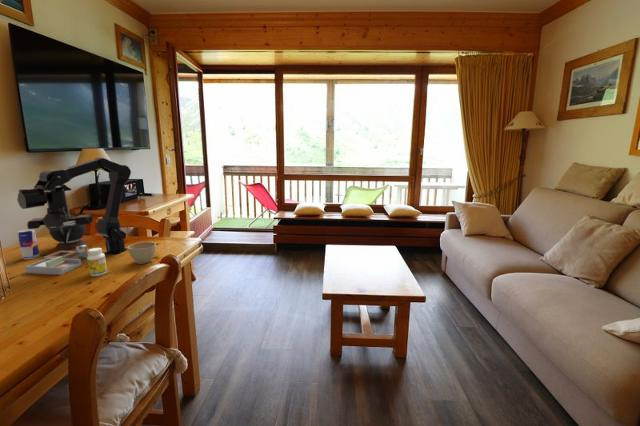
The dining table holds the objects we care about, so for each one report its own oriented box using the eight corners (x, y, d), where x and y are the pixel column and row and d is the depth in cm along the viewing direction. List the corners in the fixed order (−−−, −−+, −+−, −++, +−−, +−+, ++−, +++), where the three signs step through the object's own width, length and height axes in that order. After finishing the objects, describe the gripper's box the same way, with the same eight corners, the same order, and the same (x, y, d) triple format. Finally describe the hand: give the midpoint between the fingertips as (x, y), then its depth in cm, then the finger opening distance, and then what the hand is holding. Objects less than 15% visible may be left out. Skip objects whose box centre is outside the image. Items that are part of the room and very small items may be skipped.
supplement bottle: (110, 271, 117) (107, 247, 115) (97, 277, 112) (93, 252, 110) (100, 269, 119) (96, 246, 116) (86, 275, 114) (82, 250, 111)
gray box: (81, 265, 123) (80, 259, 122) (60, 274, 114) (59, 268, 113) (49, 263, 124) (48, 257, 124) (26, 273, 115) (24, 266, 115)
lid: (65, 262, 122) (64, 256, 121) (48, 269, 115) (47, 262, 115) (49, 261, 123) (48, 255, 122) (32, 268, 116) (30, 261, 115)
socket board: (78, 256, 132) (77, 251, 131) (61, 263, 124) (60, 258, 123) (61, 256, 132) (60, 250, 132) (43, 263, 125) (42, 257, 124)
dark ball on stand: (76, 240, 153) (71, 211, 150) (95, 243, 149) (90, 213, 145) (45, 249, 141) (39, 217, 138) (65, 252, 137) (59, 220, 133)
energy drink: (29, 260, 127) (23, 232, 125) (19, 259, 129) (13, 231, 126) (43, 255, 133) (37, 229, 130) (33, 254, 134) (27, 228, 131)
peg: (90, 256, 132) (88, 244, 131) (83, 259, 129) (81, 247, 128) (83, 256, 132) (80, 244, 131) (76, 259, 129) (73, 246, 128)
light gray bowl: (161, 261, 127) (159, 245, 126) (134, 268, 120) (132, 251, 119) (152, 255, 134) (150, 240, 132) (126, 261, 127) (124, 245, 125)
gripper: (14, 210, 106) (24, 252, 110) (80, 205, 113) (87, 246, 116) (30, 203, 116) (39, 243, 120) (89, 200, 123) (96, 237, 126)
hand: (65, 242), depth 120 cm, fingers closed
